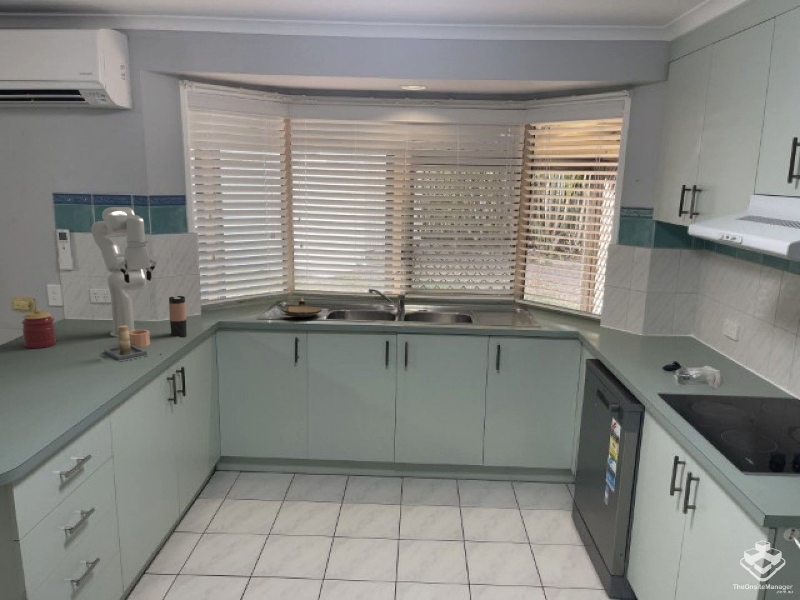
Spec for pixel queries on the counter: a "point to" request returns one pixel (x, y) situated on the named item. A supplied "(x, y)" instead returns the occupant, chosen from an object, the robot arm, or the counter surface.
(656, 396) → the counter surface
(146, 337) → the cup
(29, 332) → the canister
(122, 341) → the peg
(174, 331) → the travel mug
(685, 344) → the counter surface
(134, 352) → the tray
